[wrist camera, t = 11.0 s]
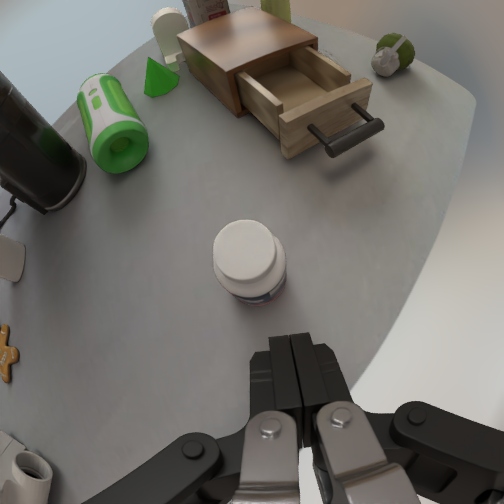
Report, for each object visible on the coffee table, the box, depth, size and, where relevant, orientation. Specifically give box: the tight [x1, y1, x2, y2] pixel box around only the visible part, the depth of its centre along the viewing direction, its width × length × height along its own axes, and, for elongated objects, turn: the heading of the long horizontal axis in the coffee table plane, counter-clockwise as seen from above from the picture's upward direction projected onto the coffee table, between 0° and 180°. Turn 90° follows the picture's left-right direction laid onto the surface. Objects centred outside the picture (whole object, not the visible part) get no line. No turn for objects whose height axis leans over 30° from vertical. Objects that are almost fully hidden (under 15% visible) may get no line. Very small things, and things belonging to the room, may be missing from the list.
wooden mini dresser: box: [176, 6, 318, 118], centre depth 31 cm, size 15×13×8 cm
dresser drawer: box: [233, 45, 384, 160], centre depth 28 cm, size 18×11×6 cm, turn 33°
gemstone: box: [144, 57, 179, 97], centre depth 34 cm, size 6×6×6 cm
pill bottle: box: [213, 219, 286, 306], centre depth 22 cm, size 5×5×9 cm
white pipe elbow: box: [0, 430, 53, 504], centre depth 16 cm, size 12×14×15 cm
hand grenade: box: [372, 33, 415, 76], centre depth 30 cm, size 6×6×10 cm
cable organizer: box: [151, 7, 189, 72], centre depth 34 cm, size 5×10×10 cm, turn 21°
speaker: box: [77, 73, 149, 173], centre depth 31 cm, size 18×7×8 cm, turn 33°
